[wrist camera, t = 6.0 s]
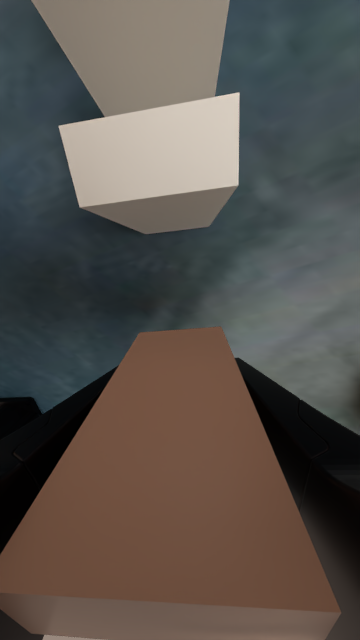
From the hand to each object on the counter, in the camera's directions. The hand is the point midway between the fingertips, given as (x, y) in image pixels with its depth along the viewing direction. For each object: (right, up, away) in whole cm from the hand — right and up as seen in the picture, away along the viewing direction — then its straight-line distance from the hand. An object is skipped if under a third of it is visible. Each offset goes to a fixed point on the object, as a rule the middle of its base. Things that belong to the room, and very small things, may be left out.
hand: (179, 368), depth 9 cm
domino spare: (0, +1, +2) cm, 2 cm away
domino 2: (0, +10, +5) cm, 11 cm away
